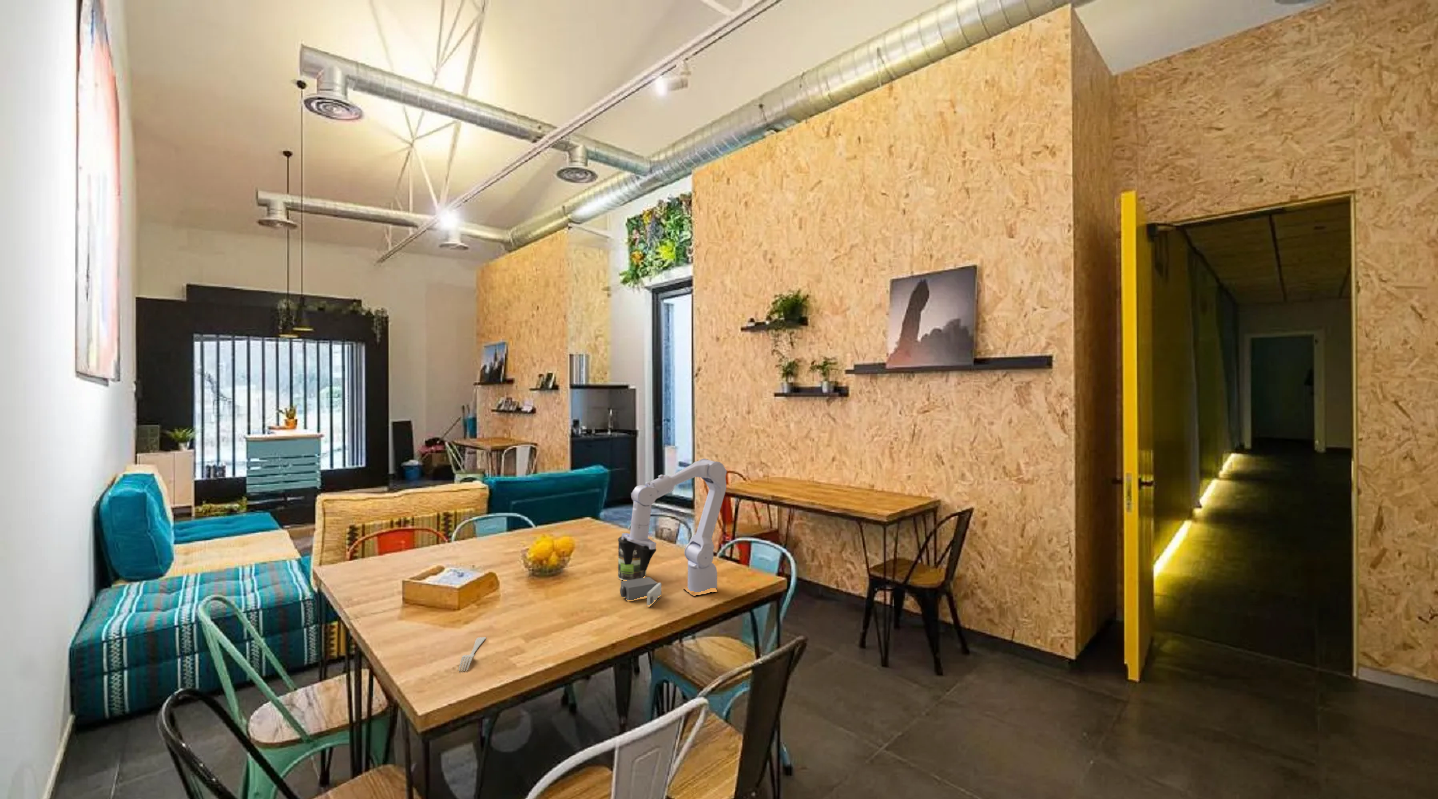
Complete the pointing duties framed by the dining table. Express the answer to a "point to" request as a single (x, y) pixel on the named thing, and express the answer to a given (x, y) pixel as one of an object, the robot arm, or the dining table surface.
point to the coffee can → (631, 569)
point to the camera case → (636, 588)
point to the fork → (476, 645)
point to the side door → (653, 594)
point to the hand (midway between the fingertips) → (635, 567)
